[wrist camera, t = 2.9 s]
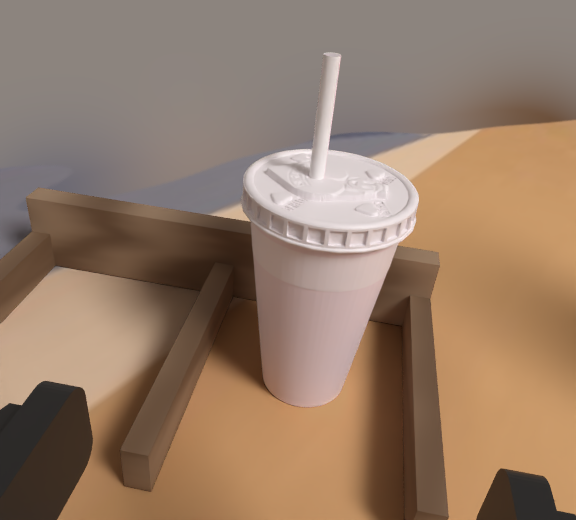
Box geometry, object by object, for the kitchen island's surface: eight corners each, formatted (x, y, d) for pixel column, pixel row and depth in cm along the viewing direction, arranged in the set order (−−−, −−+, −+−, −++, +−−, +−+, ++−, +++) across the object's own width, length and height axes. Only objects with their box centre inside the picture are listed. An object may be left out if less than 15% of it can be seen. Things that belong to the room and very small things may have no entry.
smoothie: (254, 317, 28) (275, 25, 20) (379, 344, 27) (450, 50, 20) (212, 412, 23) (219, 66, 15) (366, 449, 22) (456, 102, 14)
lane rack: (-132, 432, 21) (-172, 353, 18) (49, 251, 31) (38, 187, 29) (434, 550, 19) (465, 478, 17) (420, 314, 30) (438, 252, 27)
